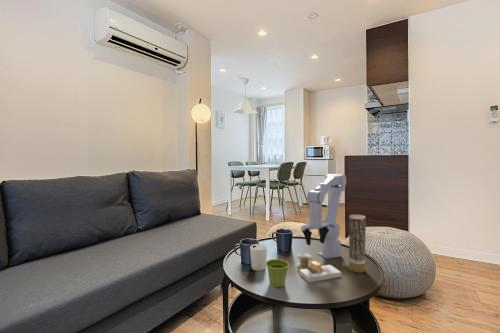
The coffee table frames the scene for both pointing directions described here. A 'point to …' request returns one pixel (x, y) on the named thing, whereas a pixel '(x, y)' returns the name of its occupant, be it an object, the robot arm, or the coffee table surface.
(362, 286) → the coffee table surface
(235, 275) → the coffee table surface
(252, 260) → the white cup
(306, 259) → the bobbin
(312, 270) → the block
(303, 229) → the robot arm
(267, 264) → the plant pot
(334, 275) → the board
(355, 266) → the bark textured cylinder
